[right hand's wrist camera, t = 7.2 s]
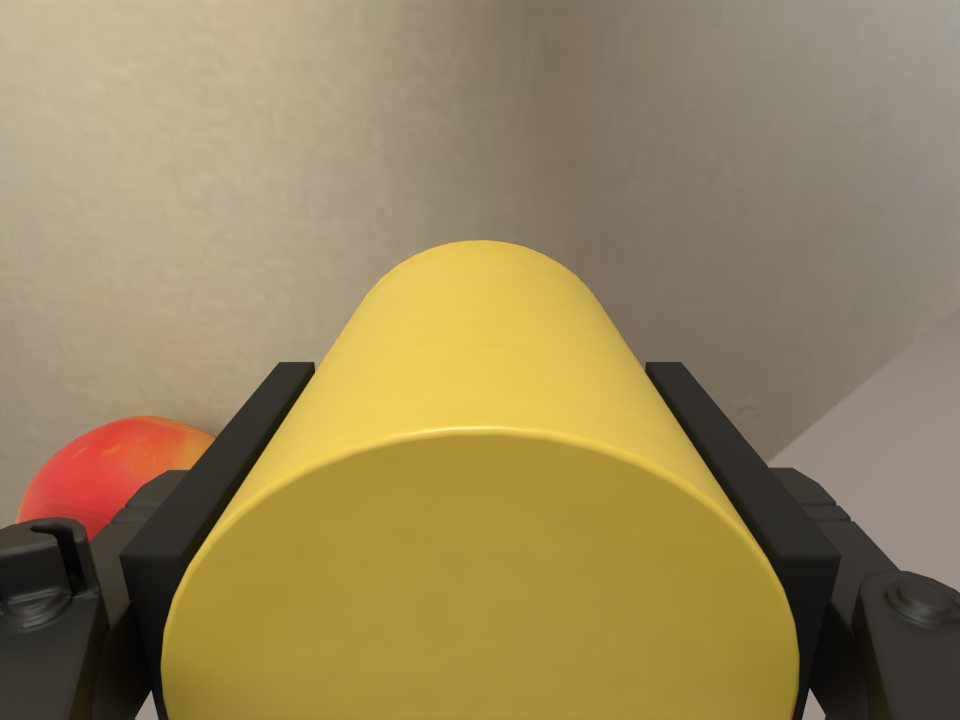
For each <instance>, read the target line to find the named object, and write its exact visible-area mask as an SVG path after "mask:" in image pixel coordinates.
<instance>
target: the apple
mask: <svg viewBox="0 0 960 720" xmlns="http://www.w3.org/2000/svg"><path fill="white" fill-rule="evenodd" d="M215 439H216V438H215V437H213V436H211V435H210V434H208V433H206V432H204V431H202V430H199V429H197V428H194V427H191V426H189V425H186V424H183V423H179V422H176V421H173V420H169V419H165V418H160V417H153V416H136V417H129V418H125V419H121V420H118V421H115V422H112V423H109V424H106V425H104V426H101V427H99V428H96V429H94V430H92V431H90V432H88V433H86V434H84V435H82V436H80V437H79V438H77V439H75V440H74V441H72V442H71V443H69V444H68V445H67V446H65V447H64V448H63V449H61V450H60V451H59V452H58V453H56V454H55V455H54V456H53V457H52V458H51V459H50V460H49V461H48V462H47V463H46V464H45V465H44V466H43V467H42V468H41V469H40V470H39V471H38V472H37V474H36V475H35V477H34V478H33V479H32V481H31V482H30V484H29V486H28V488H27V490H26V492H25V494H24V496H23V499H22V501H21V504H20V506H19V510H18V514H17V519H16V524H18V523H21V522H25V521H29V520H33V519H39V518H49V517H63V518H70V519H75V520H77V521H78V522H79V523H81V524H82V525H84V526H85V529H86V533H87V537H88V540H89V542H90V541H91V540H92V539H93V538H94V537H95V536H96V535H97V534H98V533H99V532H100V531H101V529H102V528H103V527H104V526H105V525H106V524H110V522H111V519H112V518H113V517H114V515H115V514H116V513H117V512H118V511H119V510H120V509H121V508H125V504H126V502H127V501H128V500H129V499H130V498H131V497H132V496H133V495H134V494H135V493H136V492H137V491H138V490H139V488H140V487H141V486H142V485H144V484H146V483H147V482H149V481H151V480H152V479H154V478H156V477H157V476H159V475H161V474H162V473H164V472H166V471H167V470H190V469H191V468H192V467H193V465H194V464H195V463H196V462H197V461H198V459H199V458H200V457H201V456H202V455H203V453H204V452H205V451H206V450H207V449H208V447H209V446H210V445H211V444H212V443H213V441H214V440H215Z"/></svg>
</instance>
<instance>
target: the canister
mask: <svg viewBox="0 0 960 720" xmlns="http://www.w3.org/2000/svg"><path fill="white" fill-rule="evenodd" d="M799 660H800V659H799V649H798V642H797V635H796V628H795V621H794V618H793V615H792V612H791V609H790V606H789V603H788V600H787V597H786V594H785V591H784V588H783V587H782V585H781V583H780V581H779V579H778V577H777V575H776V573H775V572H774V570H773V568H772V566H771V564H770V562H769V560H768V558H767V557H766V555H765V554H764V552H763V551H762V549H761V548H760V546H759V545H758V543H757V542H756V540H755V539H754V537H753V535H752V534H751V532H750V531H749V529H748V528H747V526H746V525H745V523H744V522H743V520H742V519H741V517H740V516H739V514H738V513H737V511H736V510H735V508H734V507H733V505H732V504H731V502H730V501H729V499H728V497H727V496H726V494H725V493H724V491H723V490H722V488H721V487H720V485H719V484H718V482H717V481H716V479H715V478H714V476H713V475H712V473H711V472H710V470H709V469H708V467H707V466H706V464H705V463H704V461H703V459H702V458H701V456H700V455H699V453H698V452H697V450H696V449H695V447H694V446H693V444H692V443H691V441H690V440H689V438H688V437H687V435H686V434H685V432H684V431H683V429H682V428H681V426H680V425H679V423H678V422H677V420H676V418H675V417H674V415H673V414H672V412H671V411H670V409H669V408H668V406H667V405H666V403H665V402H664V400H663V399H662V397H661V396H660V394H659V393H658V391H657V390H656V388H655V387H654V385H653V384H652V382H651V380H650V379H649V377H648V376H647V374H646V373H645V371H644V370H643V368H642V367H641V365H640V364H639V362H638V361H637V359H636V358H635V356H634V355H633V353H632V352H631V350H630V349H629V347H628V346H627V344H626V342H625V341H624V339H623V338H622V336H621V335H620V333H619V332H618V330H617V329H616V327H615V326H614V324H613V323H612V321H611V320H610V318H609V317H608V315H607V314H606V312H605V311H604V309H603V308H602V306H601V304H600V303H599V302H598V300H597V299H596V298H595V296H594V295H593V294H592V292H591V291H590V290H589V288H588V287H587V286H586V285H585V284H584V283H583V282H582V281H581V280H580V279H579V278H578V277H577V276H576V275H575V274H573V273H572V272H571V271H569V270H568V269H567V268H565V267H564V266H563V265H561V264H560V263H558V262H556V261H555V260H553V259H551V258H549V257H547V256H546V255H544V254H541V253H539V252H536V251H534V250H531V249H529V248H526V247H523V246H519V245H515V244H511V243H506V242H498V241H489V240H477V241H462V242H455V243H449V244H445V245H442V246H438V247H435V248H431V249H428V250H426V251H424V252H422V253H419V254H417V255H415V256H412V257H411V258H409V259H407V260H406V261H404V262H403V263H401V264H399V265H398V266H396V267H395V268H393V269H392V270H391V271H390V272H389V273H387V274H386V275H385V276H384V277H382V278H381V279H380V280H379V281H378V283H377V284H376V285H375V286H374V287H373V288H372V289H371V290H370V291H369V292H368V294H367V295H366V297H365V298H364V300H363V301H362V302H361V304H360V305H359V307H358V308H357V310H356V311H355V313H354V314H353V316H352V317H351V319H350V320H349V322H348V323H347V325H346V326H345V328H344V330H343V331H342V333H341V334H340V336H339V337H338V339H337V340H336V342H335V343H334V345H333V346H332V348H331V349H330V351H329V352H328V354H327V355H326V357H325V358H324V360H323V362H322V363H321V365H320V366H319V368H318V369H317V371H316V372H315V374H314V375H313V377H312V378H311V380H310V381H309V383H308V384H307V386H306V387H305V389H304V390H303V392H302V394H301V395H300V397H299V398H298V400H297V401H296V403H295V404H294V406H293V407H292V409H291V410H290V412H289V413H288V415H287V416H286V418H285V419H284V421H283V422H282V424H281V426H280V427H279V429H278V430H277V432H276V433H275V435H274V436H273V438H272V439H271V441H270V442H269V444H268V445H267V447H266V448H265V450H264V451H263V453H262V454H261V456H260V458H259V459H258V461H257V462H256V464H255V465H254V467H253V468H252V470H251V471H250V473H249V474H248V476H247V477H246V479H245V480H244V482H243V483H242V485H241V486H240V488H239V490H238V491H237V493H236V494H235V496H234V497H233V499H232V500H231V502H230V503H229V505H228V506H227V508H226V509H225V511H224V512H223V514H222V515H221V517H220V518H219V520H218V522H217V523H216V525H215V526H214V528H213V529H212V531H211V532H210V534H209V535H208V537H207V538H206V540H205V541H204V543H203V544H202V546H201V547H200V549H199V550H198V552H197V554H196V555H195V557H194V558H193V560H192V561H191V563H190V564H189V566H188V568H187V570H186V572H185V574H184V576H183V578H182V580H181V582H180V584H179V587H178V589H177V591H176V593H175V595H174V597H173V600H172V604H171V607H170V611H169V615H168V618H167V622H166V625H165V629H164V637H163V648H162V658H161V676H162V688H163V700H164V703H165V707H166V711H167V715H168V719H169V720H792V718H793V714H794V709H795V704H796V700H797V695H798V686H799Z"/></svg>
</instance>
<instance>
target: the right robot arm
mask: <svg viewBox="0 0 960 720" xmlns="http://www.w3.org/2000/svg"><path fill="white" fill-rule="evenodd" d="M645 373H646V374H647V376H648V377H649V379H650V380H651V382H652V384H653V385H654V387H655V388H656V390H657V391H658V393H659V394H660V396H661V397H662V399H663V400H664V402H665V403H666V405H667V406H668V408H669V409H670V411H671V412H672V414H673V415H674V417H675V418H676V420H677V422H678V423H679V425H680V426H681V428H682V429H683V431H684V432H685V434H686V435H687V437H688V438H689V440H690V441H691V443H692V444H693V446H694V447H695V449H696V450H697V452H698V453H699V455H700V456H701V458H702V459H703V461H704V463H705V464H706V466H707V467H708V469H709V470H710V472H711V473H712V475H713V476H714V478H715V479H716V481H717V482H718V484H719V485H720V487H721V488H722V490H723V491H724V493H725V494H726V496H727V497H728V499H729V501H730V502H731V504H732V505H733V507H734V508H735V510H736V511H737V513H738V514H739V516H740V517H741V519H742V520H743V522H744V523H745V525H746V526H747V528H748V529H749V531H750V532H751V534H752V535H753V537H754V539H755V540H756V542H757V543H758V545H759V546H760V548H761V549H762V551H763V552H764V554H765V555H766V557H767V558H768V560H769V562H770V564H771V566H772V568H773V570H774V572H775V573H776V575H777V577H778V579H779V581H780V583H781V585H782V587H783V588H784V591H785V594H786V597H787V600H788V603H789V606H790V609H791V612H792V615H793V618H794V621H795V628H796V635H797V642H798V649H799V659H800V660H799V686H798V695H797V700H796V704H795V709H794V714H793V718H792V720H802V717H803V712H804V708H805V704H806V700H807V696H808V692H809V688H810V689H811V691H812V692H813V694H814V696H815V697H816V699H817V701H818V703H819V704H820V706H821V708H822V709H823V711H824V713H825V715H826V717H825V720H960V593H959V592H958V591H956V590H955V589H953V588H951V587H949V586H946V585H945V584H943V583H940V582H938V581H936V580H934V579H932V578H929V577H926V576H922V575H919V574H916V573H912V572H909V571H900V570H899V569H898V568H897V567H896V566H895V565H894V563H893V562H892V561H891V560H890V559H889V558H888V557H887V556H886V555H885V554H884V553H883V552H882V551H881V550H880V548H879V547H878V546H877V545H876V544H875V543H874V542H873V541H872V540H871V539H870V538H869V537H868V536H867V535H866V534H865V532H864V531H863V530H862V529H861V528H860V527H859V526H858V525H857V524H856V523H855V522H854V521H851V520H850V516H849V515H848V514H847V513H846V512H845V511H844V510H843V509H842V508H841V507H840V506H836V501H835V500H834V499H833V498H832V497H831V496H830V495H829V494H828V493H827V492H826V491H825V490H824V489H823V488H822V486H821V485H820V484H819V483H817V482H815V481H814V480H812V479H810V478H809V477H807V476H805V475H804V474H802V473H800V472H799V471H797V470H795V469H793V468H769V467H768V466H767V465H766V464H765V462H764V461H763V460H762V459H761V458H760V456H759V455H758V454H757V453H756V452H755V450H754V449H753V448H752V447H751V446H750V444H749V443H748V442H747V441H746V440H745V438H744V437H743V436H742V435H741V434H740V432H739V431H738V430H737V429H736V428H735V426H734V425H733V424H732V423H731V422H730V420H729V419H728V418H727V417H726V416H725V414H724V413H723V412H722V411H721V410H720V408H719V407H718V406H717V405H716V404H715V402H714V401H713V400H712V399H711V398H710V396H709V395H708V394H707V393H706V392H705V390H704V389H703V388H702V387H701V386H700V384H699V383H698V382H697V381H696V380H695V378H694V377H693V376H692V375H691V374H690V372H689V371H688V370H687V369H686V368H685V366H684V365H683V364H682V363H681V362H646V369H645ZM314 374H315V365H314V362H279V363H278V365H277V366H276V367H275V368H274V369H273V371H272V372H271V373H270V374H269V375H268V377H267V378H266V379H265V380H264V381H263V383H262V384H261V385H260V386H259V387H258V389H257V390H256V391H255V392H254V393H253V395H252V396H251V397H250V398H249V399H248V401H247V402H246V403H245V404H244V405H243V407H242V408H241V409H240V410H239V411H238V413H237V414H236V415H235V416H234V417H233V419H232V420H231V421H230V422H229V423H228V425H227V426H226V427H225V428H224V429H223V431H222V432H221V433H220V434H219V435H218V437H217V438H216V439H215V440H214V441H213V443H212V444H211V445H210V446H209V447H208V449H207V450H206V451H205V452H204V453H203V455H202V456H201V457H200V458H199V459H198V461H197V462H196V463H195V464H194V465H193V467H192V468H191V469H190V470H167V471H166V472H164V473H162V474H161V475H159V476H157V477H156V478H154V479H152V480H151V481H149V482H147V483H146V484H144V485H142V486H141V487H140V488H139V490H138V491H137V492H136V493H135V494H134V495H133V496H132V497H131V498H130V499H129V500H128V501H127V502H126V504H125V508H121V509H120V510H119V511H118V512H117V513H116V514H115V515H114V517H113V518H112V519H111V522H110V524H106V525H105V526H104V527H103V528H102V529H101V531H100V532H99V533H98V534H97V535H96V536H95V537H94V538H93V539H92V540H91V541H90V542H89V540H88V537H87V533H86V529H85V526H84V525H82V524H81V523H79V522H78V521H77V520H75V519H70V518H63V517H49V518H39V519H33V520H29V521H25V522H21V523H18V524H14V525H10V526H8V527H6V528H3V529H1V530H0V720H135V717H136V715H137V714H138V712H139V710H140V708H141V707H142V705H143V703H144V702H145V700H146V698H147V696H148V695H149V693H150V691H151V690H152V694H153V698H154V702H155V707H156V711H157V715H158V719H159V720H169V719H168V715H167V711H166V707H165V703H164V700H163V688H162V676H161V658H162V648H163V637H164V629H165V625H166V622H167V618H168V615H169V611H170V607H171V604H172V600H173V597H174V595H175V593H176V591H177V589H178V587H179V584H180V582H181V580H182V578H183V576H184V574H185V572H186V570H187V568H188V566H189V564H190V563H191V561H192V560H193V558H194V557H195V555H196V554H197V552H198V550H199V549H200V547H201V546H202V544H203V543H204V541H205V540H206V538H207V537H208V535H209V534H210V532H211V531H212V529H213V528H214V526H215V525H216V523H217V522H218V520H219V518H220V517H221V515H222V514H223V512H224V511H225V509H226V508H227V506H228V505H229V503H230V502H231V500H232V499H233V497H234V496H235V494H236V493H237V491H238V490H239V488H240V486H241V485H242V483H243V482H244V480H245V479H246V477H247V476H248V474H249V473H250V471H251V470H252V468H253V467H254V465H255V464H256V462H257V461H258V459H259V458H260V456H261V454H262V453H263V451H264V450H265V448H266V447H267V445H268V444H269V442H270V441H271V439H272V438H273V436H274V435H275V433H276V432H277V430H278V429H279V427H280V426H281V424H282V422H283V421H284V419H285V418H286V416H287V415H288V413H289V412H290V410H291V409H292V407H293V406H294V404H295V403H296V401H297V400H298V398H299V397H300V395H301V394H302V392H303V390H304V389H305V387H306V386H307V384H308V383H309V381H310V380H311V378H312V377H313V375H314Z"/></svg>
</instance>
